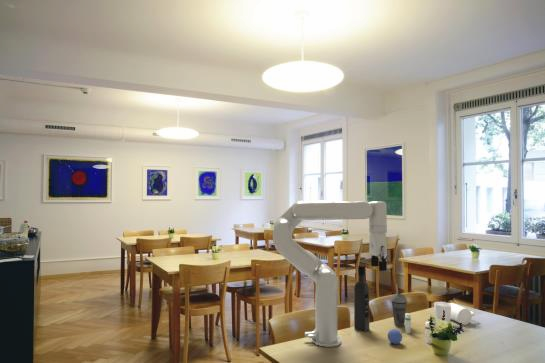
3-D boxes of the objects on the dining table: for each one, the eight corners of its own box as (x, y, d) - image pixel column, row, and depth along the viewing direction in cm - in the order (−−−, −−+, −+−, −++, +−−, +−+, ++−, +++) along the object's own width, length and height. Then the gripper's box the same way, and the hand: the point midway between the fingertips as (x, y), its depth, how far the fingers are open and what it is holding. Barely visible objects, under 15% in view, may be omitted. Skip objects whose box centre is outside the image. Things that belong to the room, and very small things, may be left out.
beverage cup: (408, 328, 181) (407, 286, 182) (392, 327, 183) (392, 285, 184) (406, 323, 189) (405, 282, 189) (390, 322, 190) (390, 282, 191)
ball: (390, 346, 160) (390, 332, 160) (385, 341, 166) (385, 327, 166) (404, 346, 160) (404, 331, 161) (399, 340, 166) (398, 326, 167)
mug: (458, 325, 186) (457, 309, 186) (444, 319, 196) (444, 303, 196) (479, 323, 188) (478, 307, 189) (465, 317, 198) (464, 301, 198)
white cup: (444, 328, 182) (443, 307, 182) (430, 323, 189) (430, 302, 189) (455, 325, 186) (454, 304, 186) (441, 320, 193) (441, 300, 193)
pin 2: (427, 343, 163) (427, 323, 163) (424, 341, 165) (424, 321, 166) (432, 343, 163) (432, 323, 163) (430, 341, 165) (429, 321, 166)
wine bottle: (370, 329, 181) (369, 265, 182) (364, 332, 176) (363, 267, 177) (359, 326, 184) (359, 264, 185) (353, 329, 180) (353, 265, 181)
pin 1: (406, 333, 174) (406, 314, 175) (404, 331, 177) (404, 313, 177) (411, 333, 175) (411, 314, 175) (409, 331, 177) (409, 313, 177)
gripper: (363, 227, 176) (364, 264, 175) (376, 231, 158) (377, 272, 158) (379, 227, 176) (379, 264, 176) (394, 231, 159) (394, 272, 158)
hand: (378, 268), depth 167 cm, fingers open, 9 cm apart
